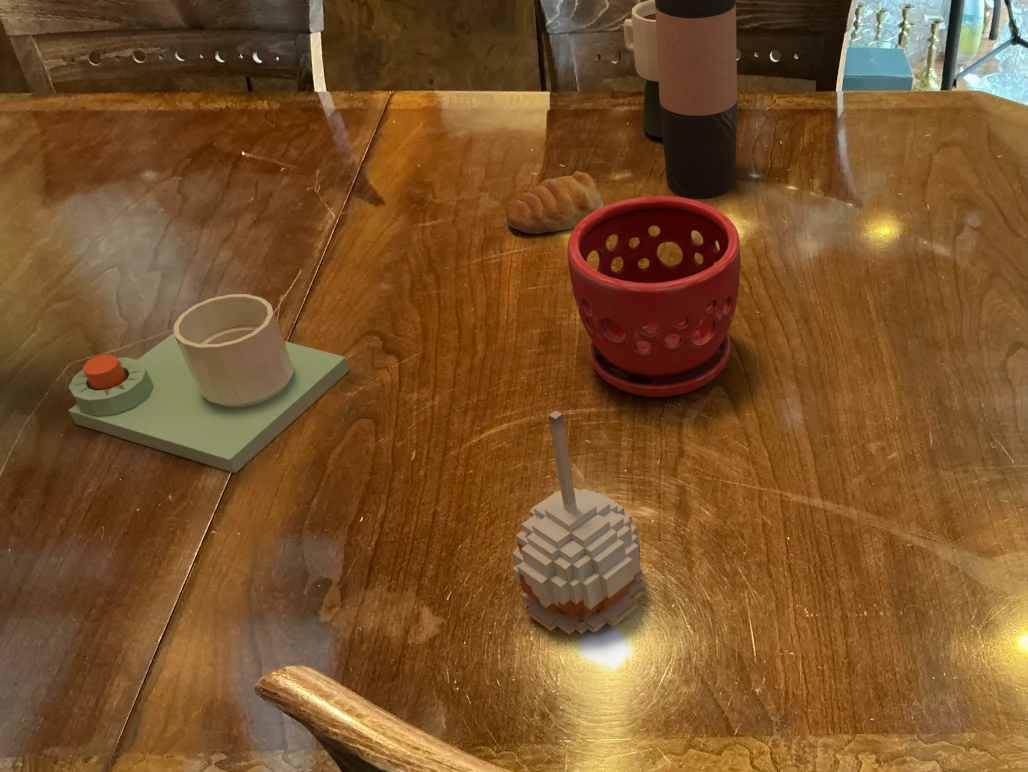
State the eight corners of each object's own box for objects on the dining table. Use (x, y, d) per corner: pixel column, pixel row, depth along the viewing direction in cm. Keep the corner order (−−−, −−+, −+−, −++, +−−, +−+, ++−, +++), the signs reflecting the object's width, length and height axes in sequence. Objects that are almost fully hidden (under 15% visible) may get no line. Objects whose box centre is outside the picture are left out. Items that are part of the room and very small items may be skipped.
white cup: (182, 399, 85) (152, 335, 80) (243, 349, 89) (218, 286, 85) (255, 420, 83) (228, 355, 78) (314, 368, 87) (292, 304, 83)
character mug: (729, 130, 121) (727, 7, 112) (694, 154, 117) (689, 29, 107) (649, 109, 125) (642, -10, 116) (613, 132, 121) (602, 10, 112)
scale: (68, 422, 85) (51, 391, 83) (193, 329, 94) (180, 299, 92) (235, 473, 80) (221, 442, 78) (350, 370, 89) (340, 340, 87)
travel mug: (706, 158, 116) (700, -44, 102) (752, 183, 112) (753, -24, 97) (649, 180, 112) (635, -26, 98) (695, 207, 108) (687, -5, 94)
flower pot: (551, 362, 90) (531, 231, 81) (675, 305, 96) (668, 177, 87) (646, 437, 82) (635, 303, 74) (773, 370, 88) (776, 238, 80)
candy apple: (586, 535, 75) (559, 357, 64) (667, 588, 71) (652, 409, 61) (500, 599, 71) (457, 420, 60) (582, 658, 67) (550, 479, 57)
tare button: (84, 388, 84) (74, 369, 83) (109, 369, 86) (100, 351, 84) (109, 395, 83) (100, 377, 82) (134, 376, 85) (125, 358, 84)
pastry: (524, 246, 103) (518, 210, 101) (496, 218, 107) (490, 182, 105) (611, 220, 107) (607, 184, 104) (581, 194, 111) (576, 158, 108)
